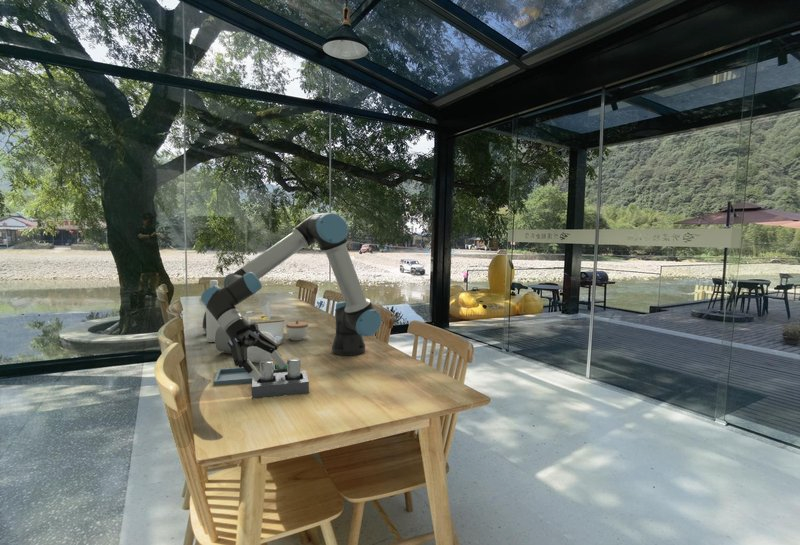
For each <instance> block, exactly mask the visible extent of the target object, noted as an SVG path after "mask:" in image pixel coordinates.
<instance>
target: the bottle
mask: <svg viewBox="0 0 800 545" xmlns="http://www.w3.org/2000/svg"><path fill="white" fill-rule="evenodd" d="M213 286H219V281H218V280H217V279H210V280H209V288H210V287H213ZM205 311H206V330H207V333H206V342H207V343H209V342H215V335H216V331H217V329H218V328H219V327H220V324H219V323H218V321H217V320H216V319H215V318H214V316H213V315H212V314H211V313H210V311H209V310H208V309H207V308H206V307H205Z"/></svg>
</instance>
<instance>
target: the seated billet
mask: <svg viewBox="0 0 800 545" xmlns="http://www.w3.org/2000/svg"><path fill="white" fill-rule="evenodd" d="M286 362H287V381H289V380H300V379H301V376H300V371H301V359H300V358H287V360H286Z"/></svg>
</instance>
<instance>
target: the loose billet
mask: <svg viewBox="0 0 800 545" xmlns="http://www.w3.org/2000/svg"><path fill="white" fill-rule="evenodd" d="M273 364H274V360H272V359H271V360H264V361H261V362H260V363H259V373H260V374H261V375H262V377H261V378H260V383H266V382H274V369H273Z"/></svg>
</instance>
